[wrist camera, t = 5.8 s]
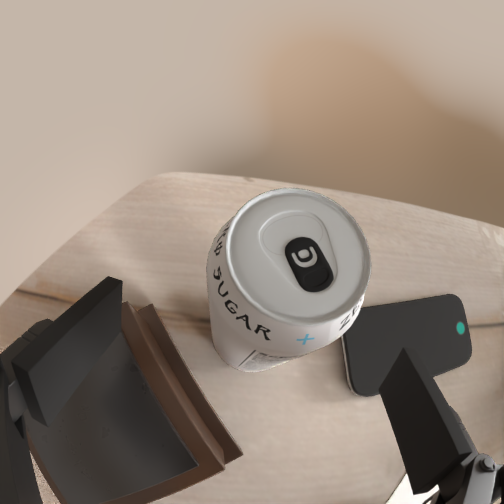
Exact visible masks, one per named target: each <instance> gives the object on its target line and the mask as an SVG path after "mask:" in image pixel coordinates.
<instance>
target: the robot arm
mask: <svg viewBox="0 0 504 504" xmlns="http://www.w3.org/2000/svg"><path fill="white" fill-rule="evenodd" d="M122 285H123V281H122V280H118V279H115V278H112V277H109V276H108V277H106V278H105V279H104V280H103V281H101V282H100V283H99V284H98V285H97V286H95V287H94V288H93V289H92V290H90V291H89V292H88V293H87V294H86V295H84V296H83V297H82V298H81V299H80V300H78V301H77V302H76V303H75V304H74V305H72V306H71V307H70V308H69V309H68V310H67V311H65V312H64V313H63V314H62V315H61V316H60V317H58V318H57V319H56V320H55V321H52V320H50V319H45V320H42V321H40V322H37V323H36V324H34V325H33V326H32V327H31V328H30V329H29V330H28V332H27V331H26V332H25V333H24V334H23V335H22V336H21V337H19V338H18V339H17V340H16V341H15V342H14V343H12V344H11V345H10V346H9V347H8V348H7V349H6V350H5V351H3V352H2V353H1V354H0V504H43V502H42V499H41V496H40V492H39V489H38V485H37V481H36V478H35V473H34V469H33V465H32V460H31V455H30V450H29V445H28V439H27V433H26V426H25V419H24V416H23V413H24V411H25V410H26V409H27V408H28V410H29V412H30V415H31V417H32V418H33V419H35V420H36V421H38V422H39V423H41V424H43V425H44V426H46V427H48V428H49V426H50V425H51V423H52V422H53V420H54V419H55V418H56V416H57V415H58V413H59V412H60V411H61V409H62V408H63V406H64V405H65V404H66V402H67V401H68V400H69V398H70V397H71V396H72V394H73V393H74V392H75V390H76V389H77V387H78V386H79V385H80V383H81V382H82V381H83V379H84V378H85V377H86V376H87V374H88V373H89V372H90V370H91V369H92V368H93V366H94V365H95V364H96V362H97V361H98V360H99V359H100V357H101V356H102V355H103V353H104V352H105V351H106V350H107V348H108V347H109V346H110V345H111V343H112V342H113V341H114V340H115V338H116V337H117V336H118V335H119V333H120V332H121V310H122ZM379 392H380V395H381V397H382V400H383V403H384V406H385V408H386V411H387V414H388V417H389V420H390V423H391V426H392V428H393V431H394V434H395V437H396V440H397V443H398V446H399V449H400V452H401V456H402V459H403V462H404V465H405V468H406V472H407V475H408V478H409V482H410V485H411V489H412V492H413V495H417V494H422V493H427V492H429V491H430V490H431V489H433V488H434V487H435V486H436V485H437V484H438V487H439V490H438V491H437V492H435V493H434V494H433V495H432V496H430V497H429V498H428V499H426V500H425V501H424V502H423V504H426V503H428V502H429V501H430V500H431V503H430V504H493V503H494V502H496V501H497V500H498V499H499V498H501V503H500V504H504V465H497V464H495V461H494V460H493V459H492V458H491V457H490V456H489V455H487V454H484V453H483V454H478V452H477V450H476V448H475V446H474V444H473V442H472V440H471V438H470V436H469V434H468V432H467V430H466V431H465V429H466V428H465V427H464V425H463V424H462V421H461V419H460V417H459V416H458V414H457V413H456V412H455V411H454V410H453V408H452V407H451V406H449V405H448V403H447V401H446V400H445V398H444V396H443V394H442V393H441V391H440V389H439V387H438V386H437V384H436V382H435V380H434V379H433V377H432V375H431V374H430V372H429V370H428V369H427V367H426V365H425V364H424V362H423V360H422V359H421V357H420V356H419V354H418V352H417V351H416V349H414V348H407V347H403V348H402V350H401V352H400V353H399V355H398V357H397V359H396V361H395V362H394V364H393V366H392V367H391V369H390V371H389V373H388V374H387V376H386V378H385V379H384V381H383V382H382V384H381V386H380V387H379Z"/></svg>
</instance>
